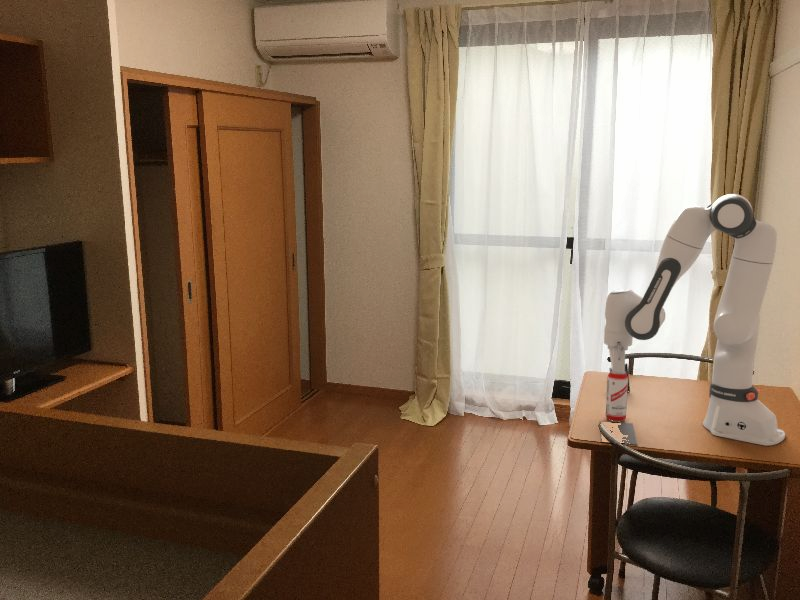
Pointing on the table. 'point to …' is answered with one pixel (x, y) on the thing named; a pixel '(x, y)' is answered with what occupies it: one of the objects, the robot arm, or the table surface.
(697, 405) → the table surface
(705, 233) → the robot arm
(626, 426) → the mat
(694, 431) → the table surface
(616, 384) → the beer can
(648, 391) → the table surface
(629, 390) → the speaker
